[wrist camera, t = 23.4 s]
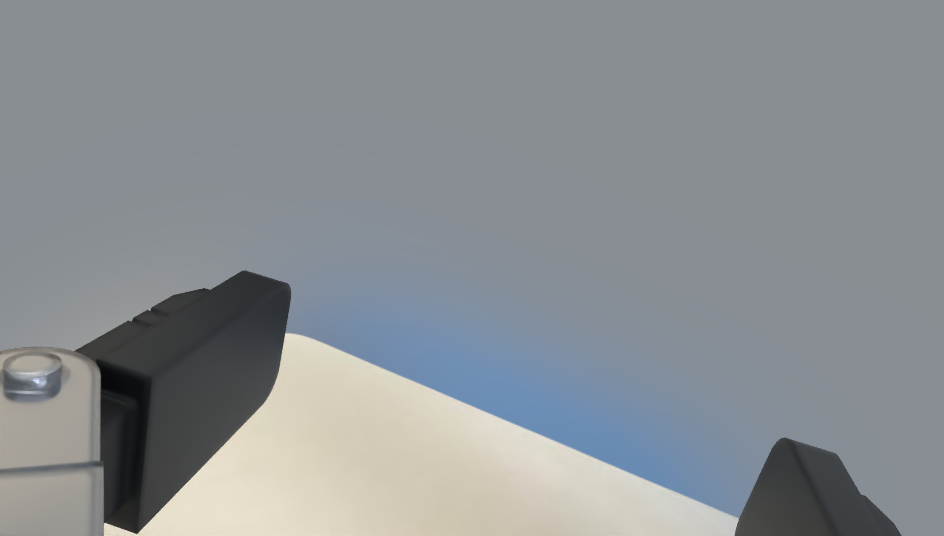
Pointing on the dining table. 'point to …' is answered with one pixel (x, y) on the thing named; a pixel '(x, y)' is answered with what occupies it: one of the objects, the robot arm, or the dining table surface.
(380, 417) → the dining table surface
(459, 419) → the dining table surface
